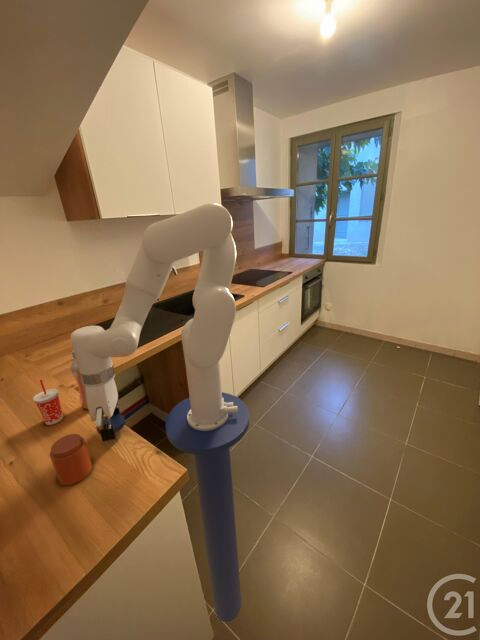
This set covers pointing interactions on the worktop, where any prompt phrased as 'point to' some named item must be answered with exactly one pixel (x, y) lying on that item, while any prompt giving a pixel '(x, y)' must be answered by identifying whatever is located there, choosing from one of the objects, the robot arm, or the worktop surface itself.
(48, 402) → the beverage cup
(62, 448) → the jar
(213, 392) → the robot arm
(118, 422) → the lid
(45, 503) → the worktop surface
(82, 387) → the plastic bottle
